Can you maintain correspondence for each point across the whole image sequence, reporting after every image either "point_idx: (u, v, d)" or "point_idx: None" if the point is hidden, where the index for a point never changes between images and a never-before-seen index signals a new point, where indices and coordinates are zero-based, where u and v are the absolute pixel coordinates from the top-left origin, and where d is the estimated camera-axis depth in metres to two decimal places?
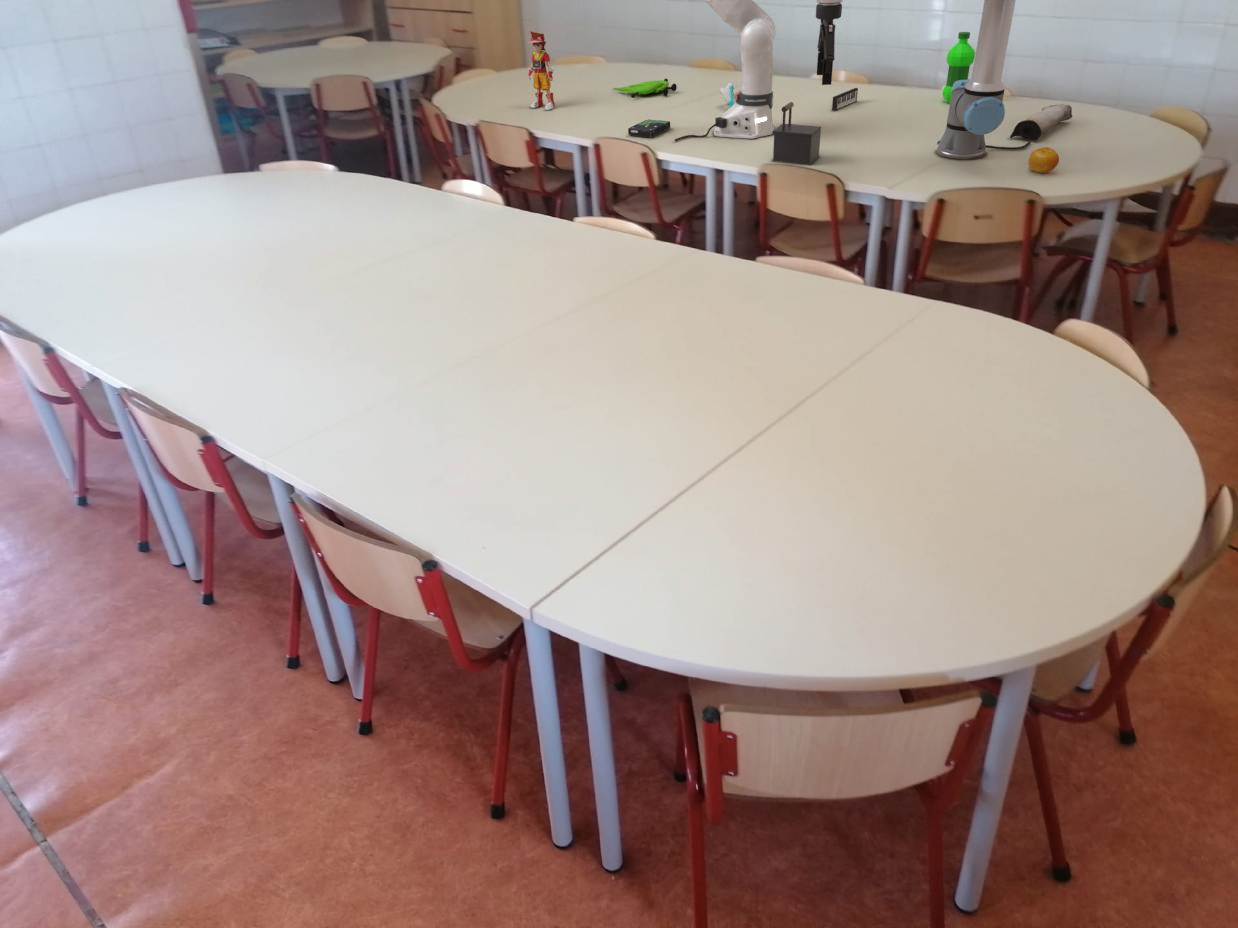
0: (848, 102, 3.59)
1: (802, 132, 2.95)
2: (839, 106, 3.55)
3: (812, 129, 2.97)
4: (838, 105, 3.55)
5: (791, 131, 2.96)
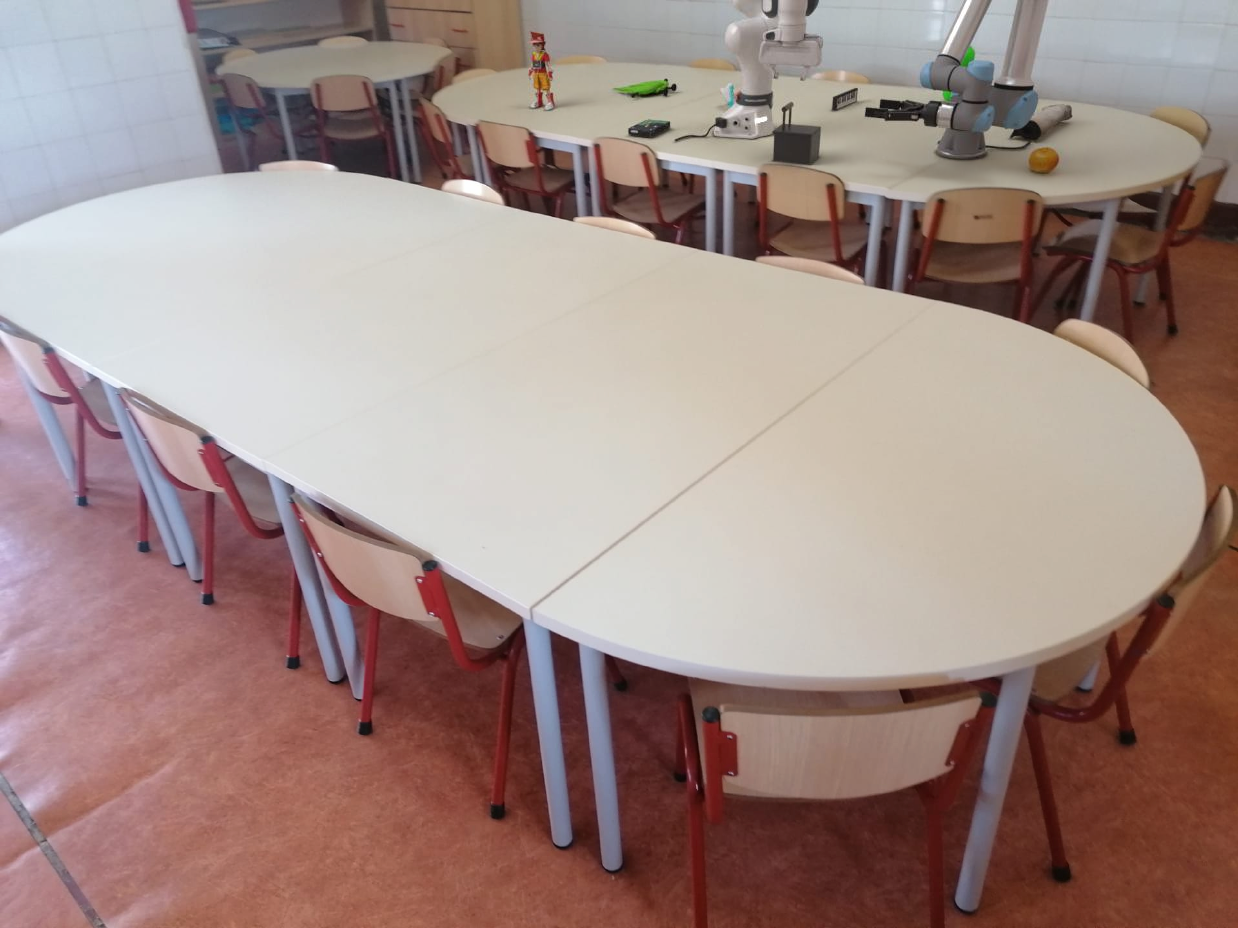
0: (848, 102, 3.59)
1: (802, 132, 2.95)
2: (839, 106, 3.55)
3: (812, 129, 2.97)
4: (838, 105, 3.55)
5: (791, 131, 2.96)
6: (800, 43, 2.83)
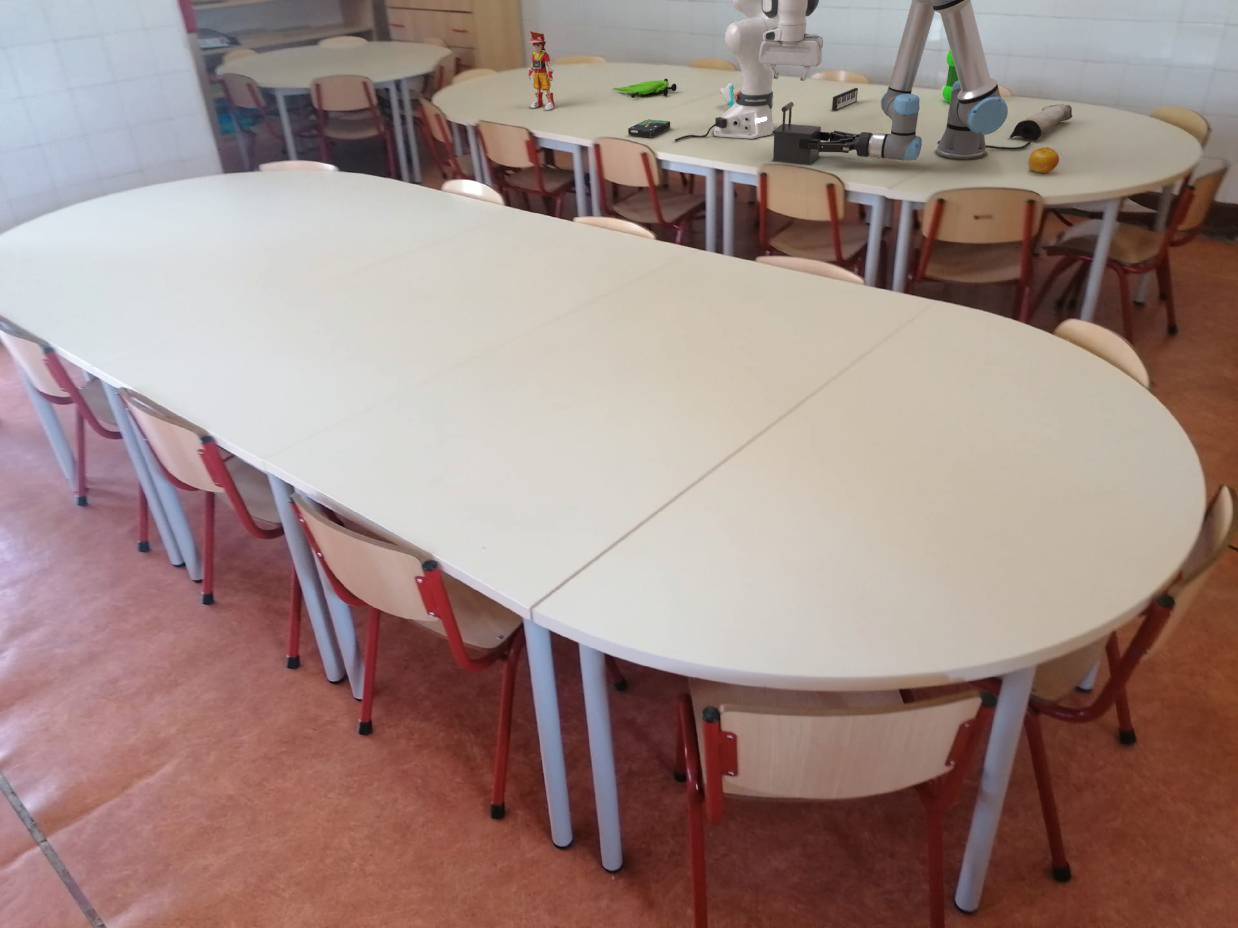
0: (848, 102, 3.59)
1: (802, 132, 2.95)
2: (839, 106, 3.55)
3: (812, 129, 2.97)
4: (838, 105, 3.55)
5: (791, 131, 2.96)
6: (800, 43, 2.83)
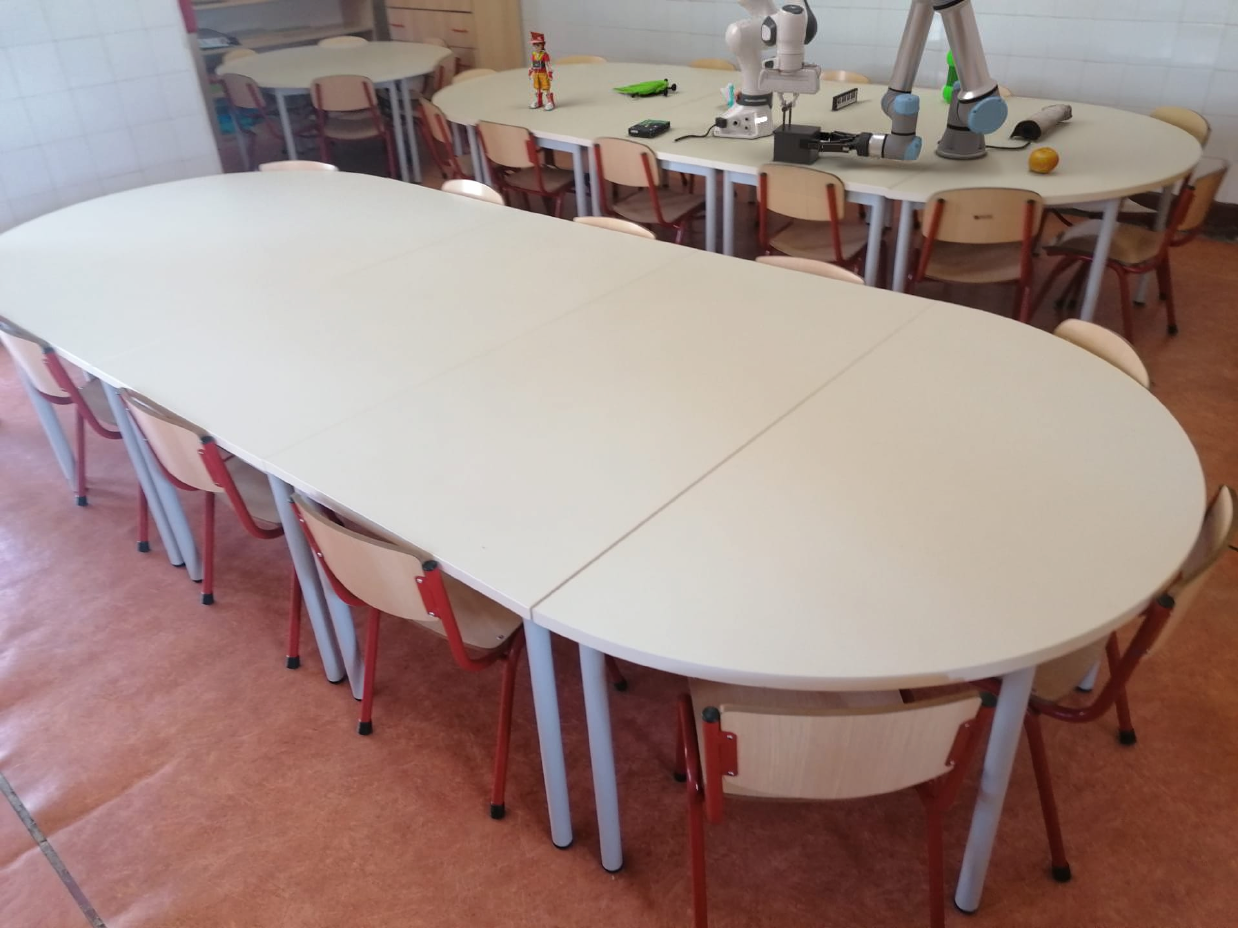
0: (848, 102, 3.59)
1: (802, 132, 2.95)
2: (839, 106, 3.55)
3: (812, 129, 2.97)
4: (838, 105, 3.55)
5: (791, 131, 2.96)
6: (798, 72, 2.87)
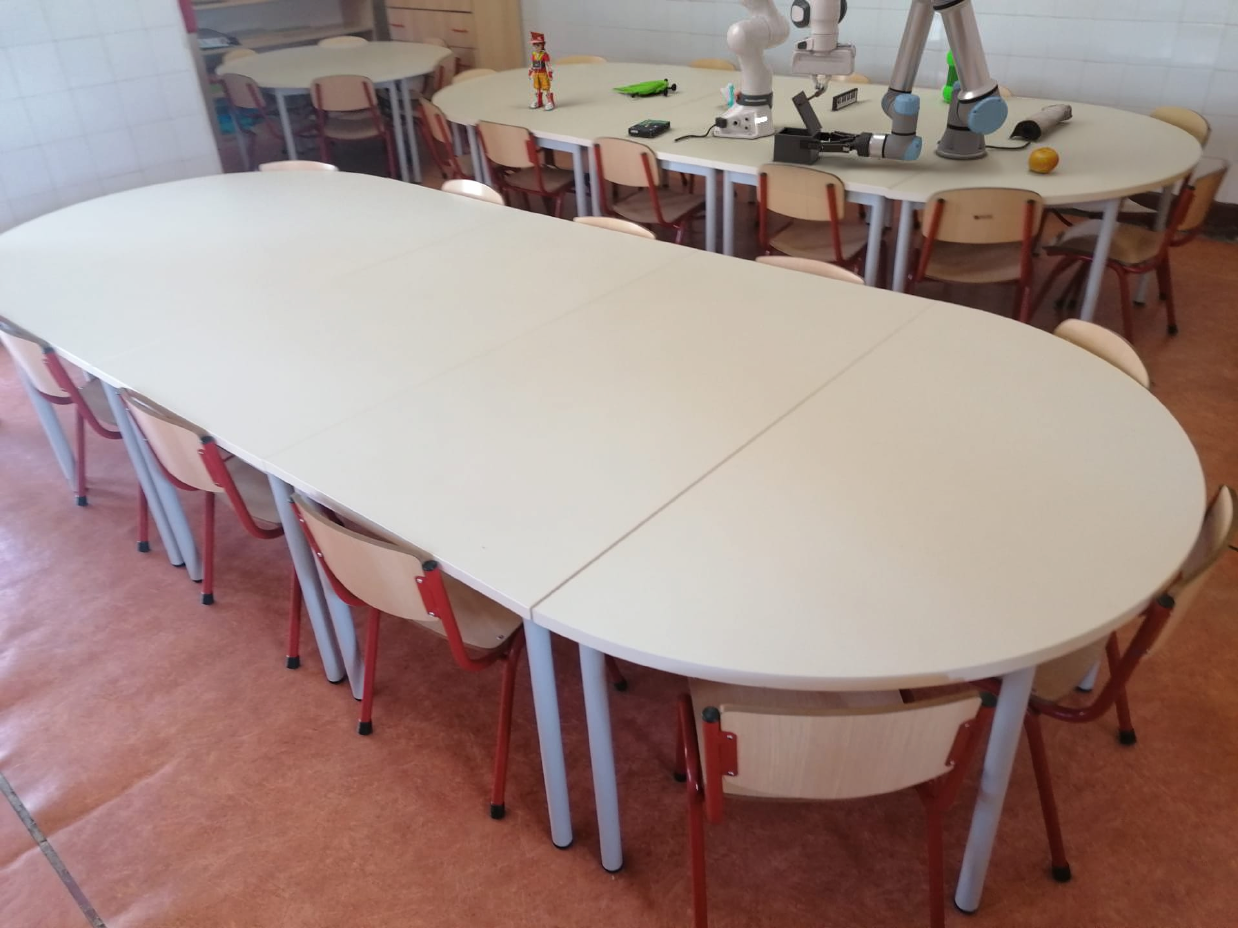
0: (848, 102, 3.59)
1: (809, 124, 2.92)
2: (839, 106, 3.55)
3: (816, 126, 2.96)
4: (838, 105, 3.55)
5: (803, 114, 2.91)
6: (833, 52, 2.79)
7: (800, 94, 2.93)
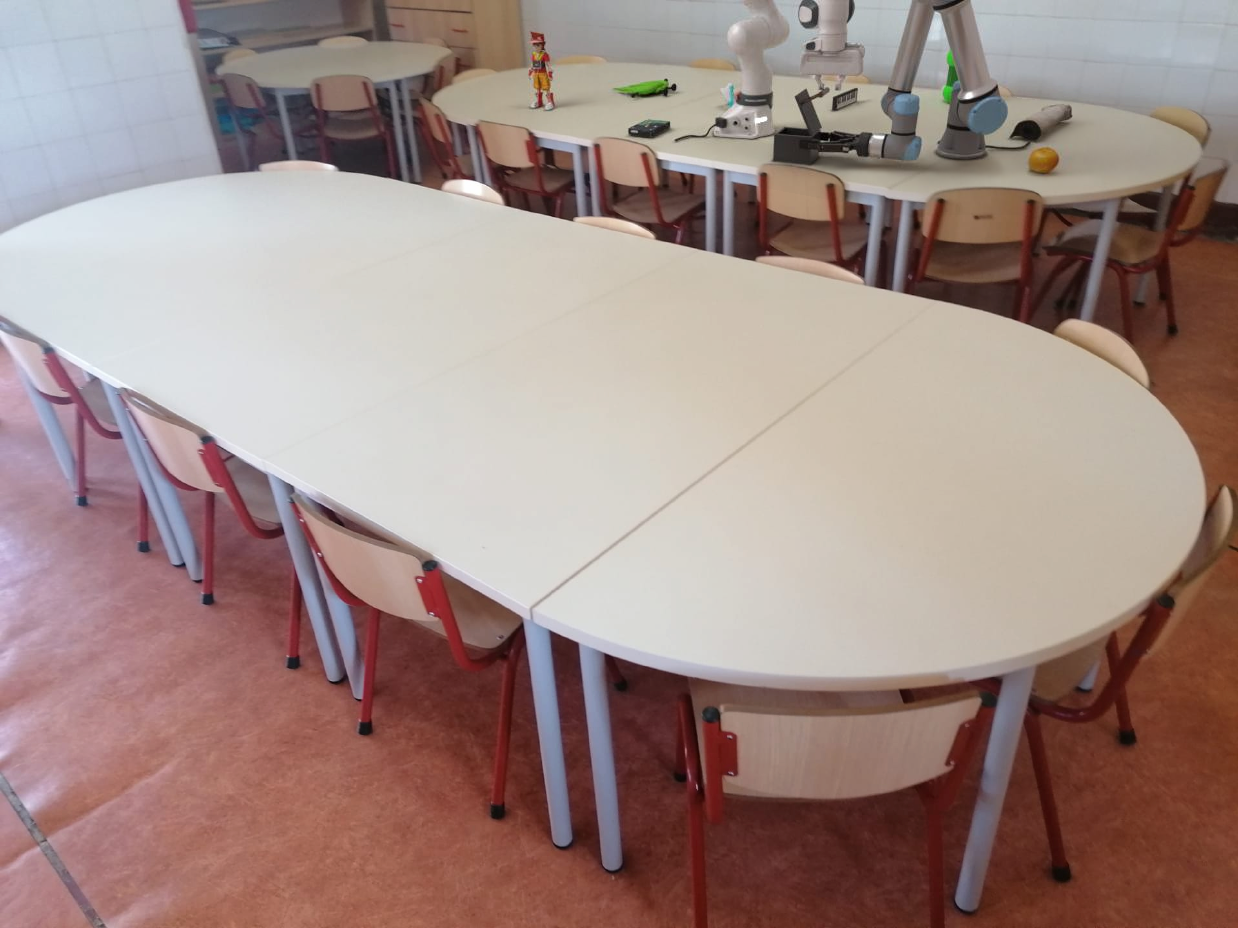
0: (848, 102, 3.59)
1: (809, 124, 2.92)
2: (839, 106, 3.55)
3: (816, 126, 2.96)
4: (838, 105, 3.55)
5: (805, 113, 2.91)
6: (841, 52, 2.78)
7: (803, 92, 2.93)
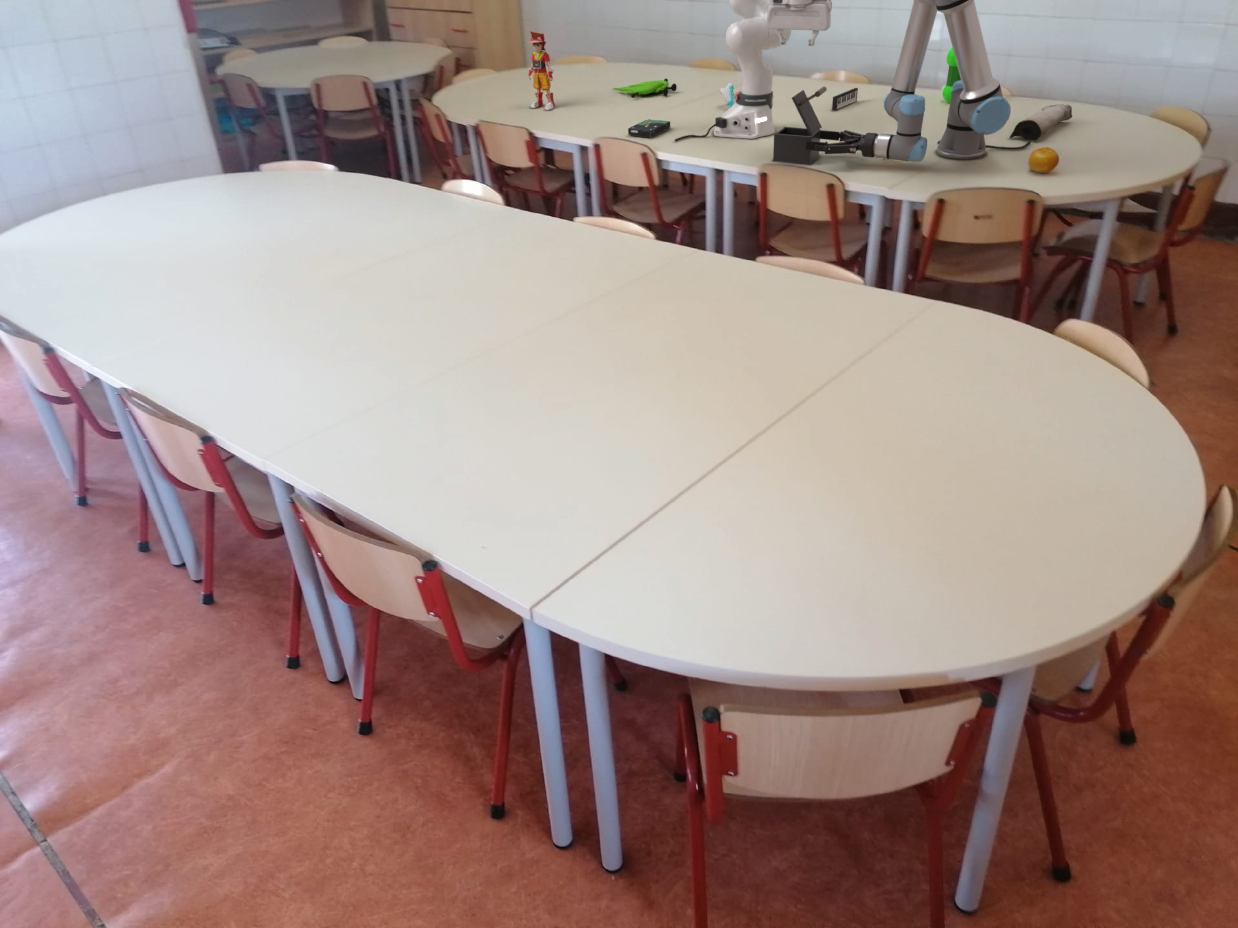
0: (848, 102, 3.59)
1: (809, 124, 2.92)
2: (839, 106, 3.55)
3: (816, 126, 2.96)
4: (838, 105, 3.55)
5: (803, 113, 2.91)
6: (808, 6, 2.76)
7: (800, 93, 2.93)
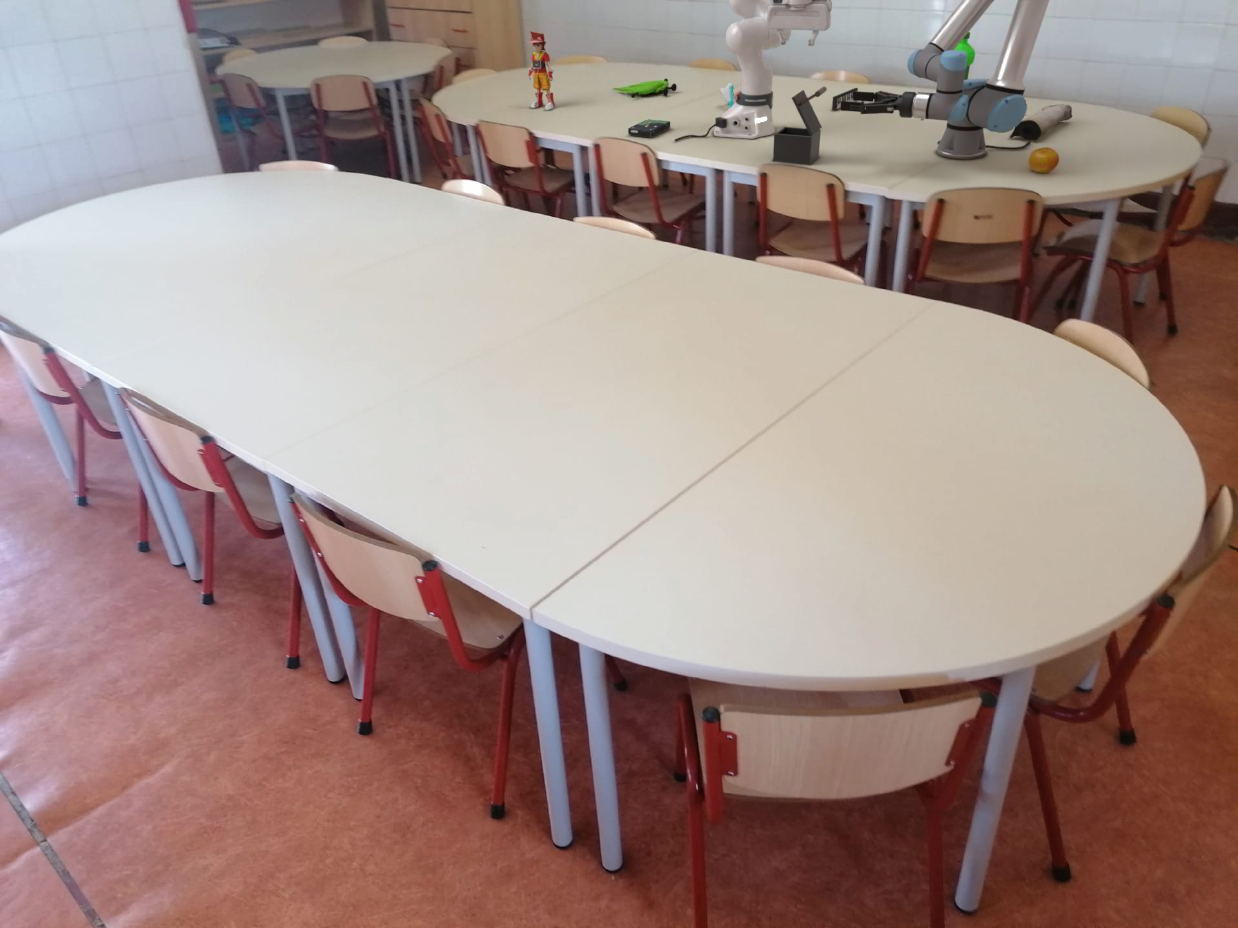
0: None
1: (809, 124, 2.92)
2: (839, 106, 3.55)
3: (816, 126, 2.96)
4: (838, 105, 3.55)
5: (803, 113, 2.91)
6: (808, 6, 2.76)
7: (800, 93, 2.93)
